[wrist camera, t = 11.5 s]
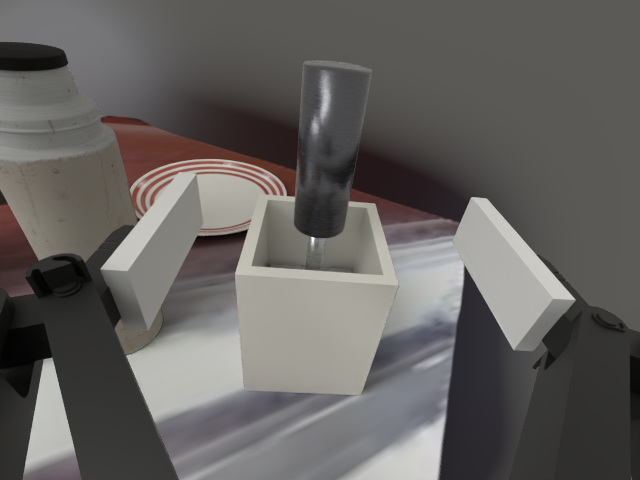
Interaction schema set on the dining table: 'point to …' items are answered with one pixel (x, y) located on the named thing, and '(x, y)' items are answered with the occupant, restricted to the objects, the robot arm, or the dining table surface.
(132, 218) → the thermos bottle
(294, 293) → the white open box
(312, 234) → the plunger
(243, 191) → the dinner plate
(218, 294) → the dining table surface
